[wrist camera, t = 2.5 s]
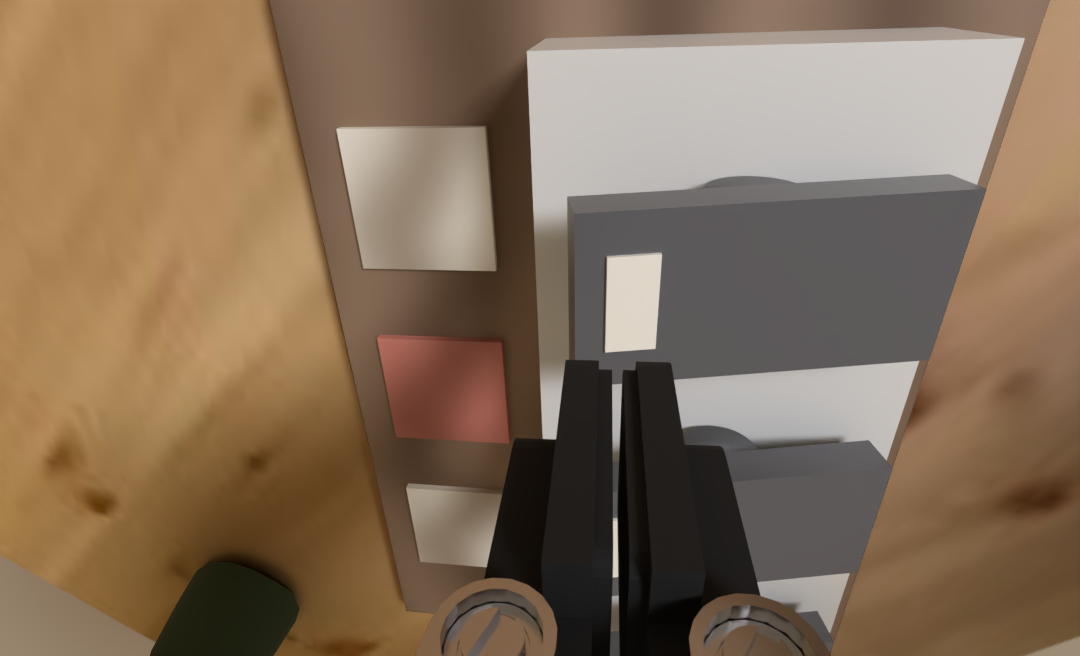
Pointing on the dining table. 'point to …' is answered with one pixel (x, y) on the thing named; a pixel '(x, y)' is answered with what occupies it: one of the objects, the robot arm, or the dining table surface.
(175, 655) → the character mug
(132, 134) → the dining table surface
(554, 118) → the switch housing
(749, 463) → the rocker middle
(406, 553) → the chart board
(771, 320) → the block
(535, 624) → the robot arm
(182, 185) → the dining table surface
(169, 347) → the dining table surface
